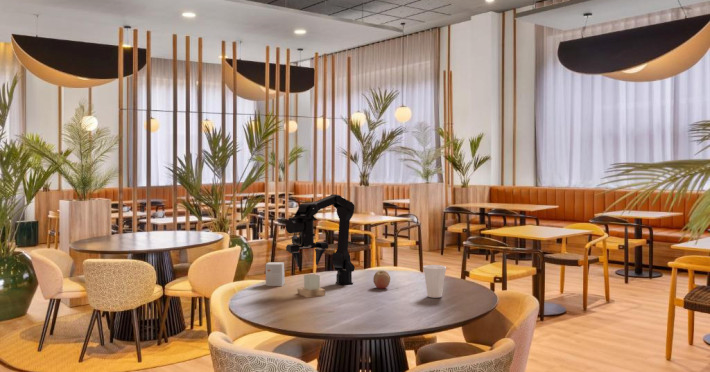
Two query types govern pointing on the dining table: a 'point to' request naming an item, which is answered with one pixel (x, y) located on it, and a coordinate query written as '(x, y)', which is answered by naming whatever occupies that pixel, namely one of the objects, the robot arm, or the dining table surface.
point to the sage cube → (311, 282)
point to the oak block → (311, 292)
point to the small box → (275, 274)
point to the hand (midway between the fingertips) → (307, 265)
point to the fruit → (381, 279)
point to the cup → (434, 279)
